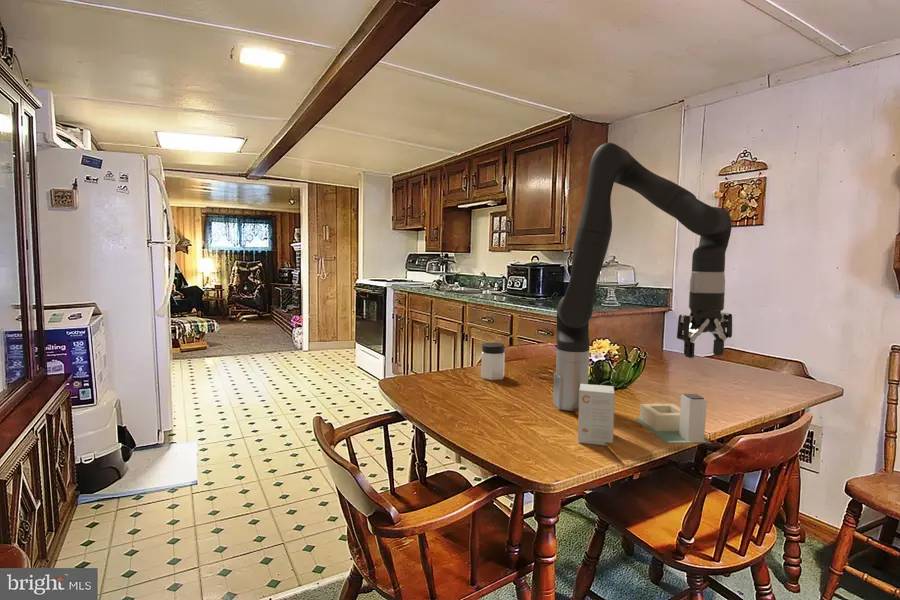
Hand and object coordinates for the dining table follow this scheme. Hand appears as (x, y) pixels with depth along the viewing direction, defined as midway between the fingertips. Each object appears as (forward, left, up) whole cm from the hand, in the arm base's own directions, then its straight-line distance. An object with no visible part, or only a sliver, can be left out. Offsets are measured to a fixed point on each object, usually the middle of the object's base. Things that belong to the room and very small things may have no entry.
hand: (703, 356), depth 118 cm
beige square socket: (-6, +6, -19) cm, 21 cm away
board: (-6, +2, -20) cm, 21 cm away
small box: (-27, -1, -21) cm, 34 cm away
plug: (-4, -3, -19) cm, 20 cm away
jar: (-43, +58, -20) cm, 75 cm away
